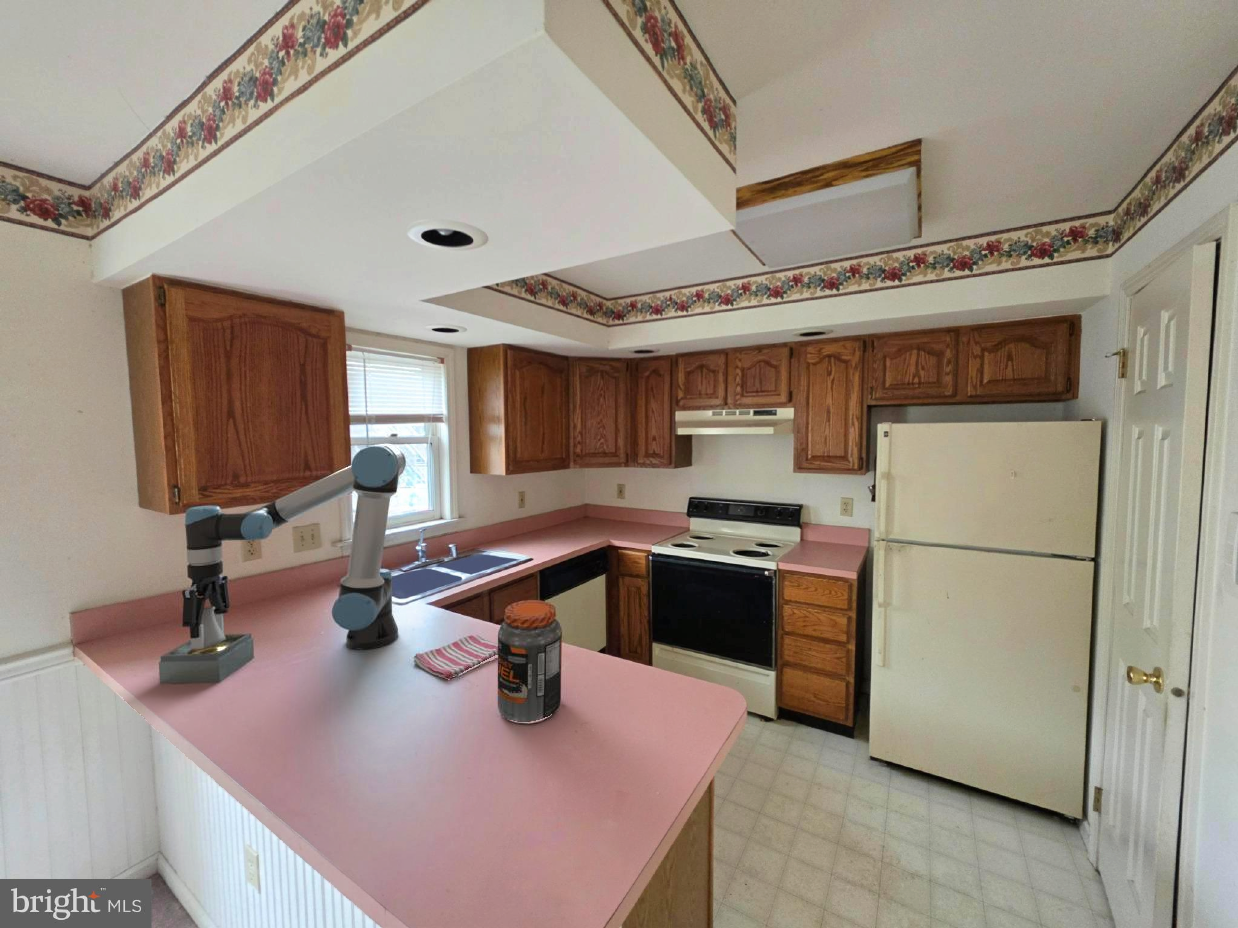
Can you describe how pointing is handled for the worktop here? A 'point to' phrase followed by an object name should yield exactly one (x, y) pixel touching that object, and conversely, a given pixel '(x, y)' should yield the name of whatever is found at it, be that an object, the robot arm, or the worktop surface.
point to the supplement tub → (529, 661)
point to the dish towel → (456, 656)
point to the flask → (211, 628)
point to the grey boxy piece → (206, 660)
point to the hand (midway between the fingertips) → (208, 641)
